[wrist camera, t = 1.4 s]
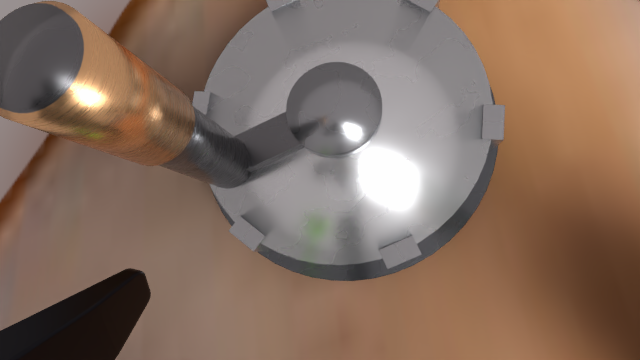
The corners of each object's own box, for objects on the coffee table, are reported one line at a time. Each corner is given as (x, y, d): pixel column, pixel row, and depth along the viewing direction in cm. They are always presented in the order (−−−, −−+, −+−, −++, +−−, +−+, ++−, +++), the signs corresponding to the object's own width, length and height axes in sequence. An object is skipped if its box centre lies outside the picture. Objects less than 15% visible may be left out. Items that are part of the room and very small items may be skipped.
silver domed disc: (401, -41, 24) (424, -455, 10) (541, 200, 20) (919, 87, 6) (181, 70, 25) (-77, -153, 11) (270, 316, 21) (46, 451, 7)
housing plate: (444, 324, 21) (448, 329, 20) (176, 224, 25) (163, 223, 24) (524, 41, 23) (533, 27, 22) (266, -10, 27) (259, -25, 26)
